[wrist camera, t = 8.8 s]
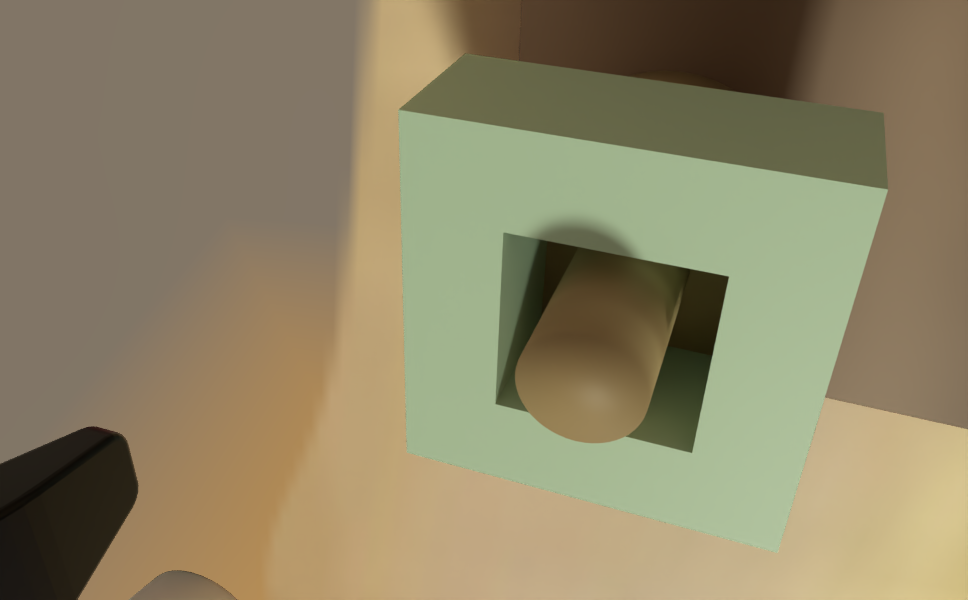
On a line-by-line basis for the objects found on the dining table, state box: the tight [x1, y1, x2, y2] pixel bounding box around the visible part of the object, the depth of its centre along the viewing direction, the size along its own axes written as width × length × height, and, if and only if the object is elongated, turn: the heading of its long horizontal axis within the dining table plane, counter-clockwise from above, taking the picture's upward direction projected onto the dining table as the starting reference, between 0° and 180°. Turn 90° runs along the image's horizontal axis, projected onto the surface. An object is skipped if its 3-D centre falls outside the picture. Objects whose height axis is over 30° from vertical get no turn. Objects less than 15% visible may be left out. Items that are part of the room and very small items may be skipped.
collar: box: [398, 53, 888, 553], centre depth 14 cm, size 6×6×2 cm
